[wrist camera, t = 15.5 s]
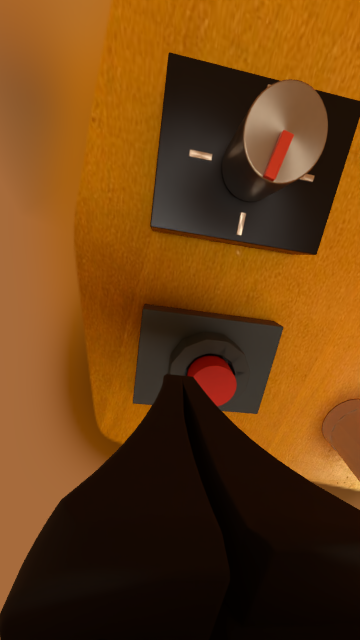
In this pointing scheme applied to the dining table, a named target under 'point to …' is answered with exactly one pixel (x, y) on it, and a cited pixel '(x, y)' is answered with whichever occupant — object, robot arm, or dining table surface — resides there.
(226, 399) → the switch button
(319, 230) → the dimmer panel
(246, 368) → the switch block
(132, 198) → the dining table surface
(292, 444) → the dining table surface
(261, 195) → the dimmer knob
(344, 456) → the cup
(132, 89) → the dining table surface
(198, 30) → the dining table surface
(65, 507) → the robot arm
